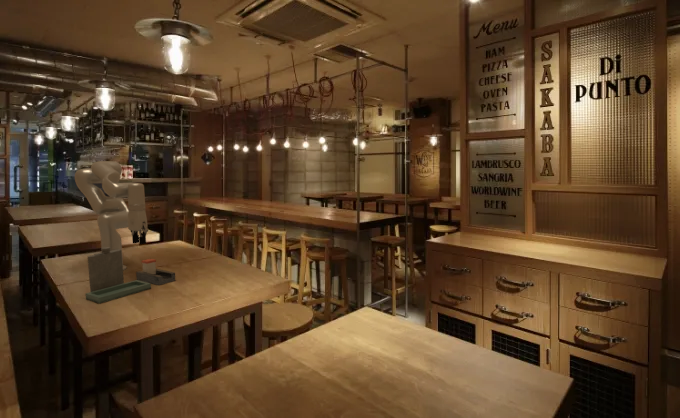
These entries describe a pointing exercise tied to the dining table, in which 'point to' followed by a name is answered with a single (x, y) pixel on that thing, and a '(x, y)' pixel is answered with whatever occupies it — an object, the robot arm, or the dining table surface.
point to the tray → (117, 291)
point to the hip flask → (105, 269)
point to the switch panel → (156, 277)
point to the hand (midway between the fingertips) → (139, 243)
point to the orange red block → (149, 266)
